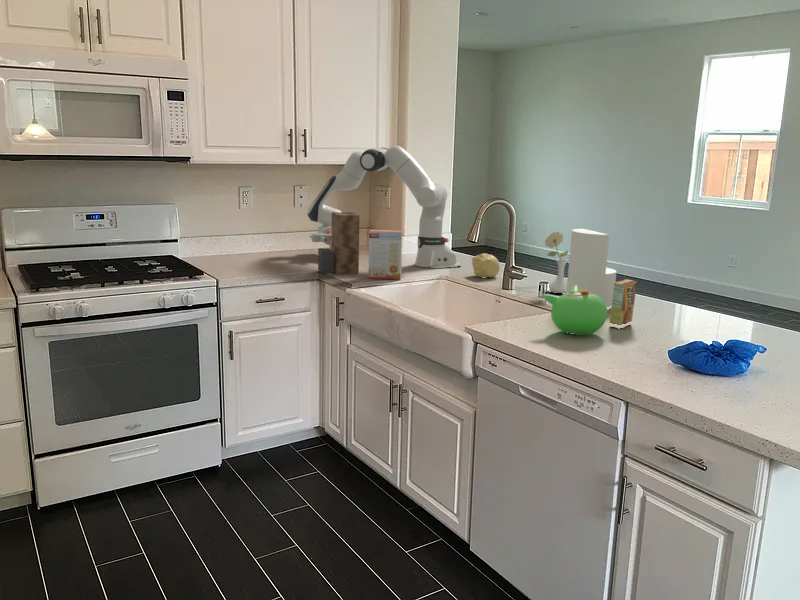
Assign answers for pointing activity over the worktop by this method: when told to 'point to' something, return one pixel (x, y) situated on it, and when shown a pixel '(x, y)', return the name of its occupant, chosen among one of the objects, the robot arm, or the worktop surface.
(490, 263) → the pale yellow lumpy ball
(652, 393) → the worktop surface
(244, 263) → the worktop surface
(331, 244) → the bar
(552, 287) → the flower in vase
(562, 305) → the round teapot
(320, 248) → the domino
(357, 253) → the walnut stand
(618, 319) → the candy box
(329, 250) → the domino
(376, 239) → the cracker box
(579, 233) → the cylinder
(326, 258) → the domino
